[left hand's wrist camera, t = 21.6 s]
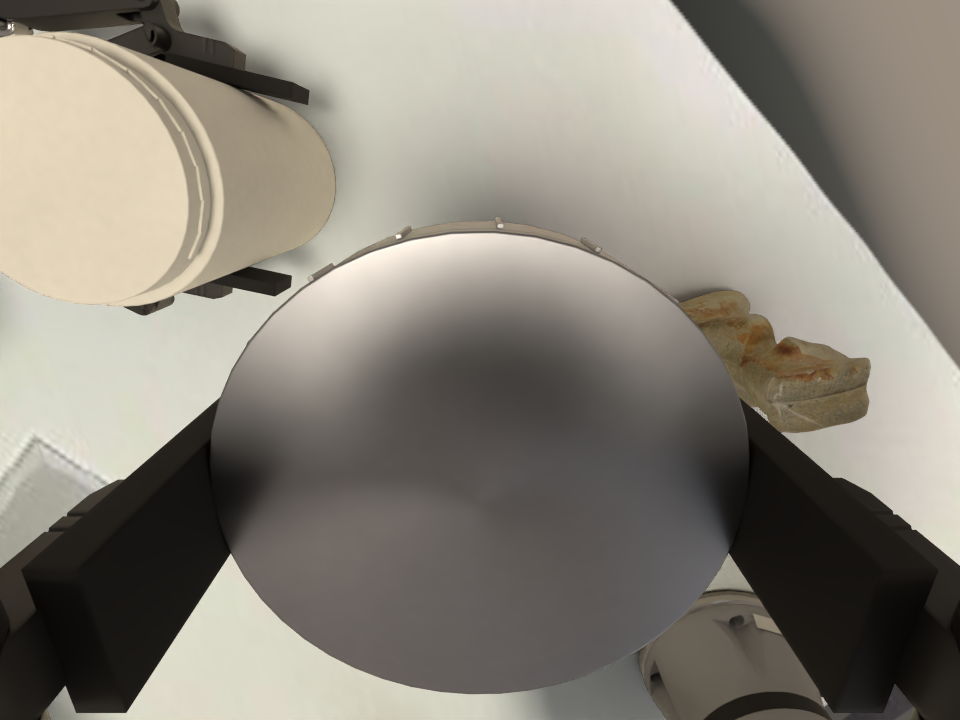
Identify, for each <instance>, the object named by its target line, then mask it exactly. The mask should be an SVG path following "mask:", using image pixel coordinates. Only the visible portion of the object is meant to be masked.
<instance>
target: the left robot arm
mask: <svg viewBox="0 0 960 720" xmlns="http://www.w3.org/2000/svg"><path fill="white" fill-rule="evenodd" d="M219 399H220V398H219ZM219 399H218V400H216V401H215V402H214V403H213V404H212V405H211V406H209V407H208V408H207V409H206V410H205V411H204V412H203V413H201V414H200V415H199V416H198V417H197V418H196V419H194V420H193V421H192V422H191V423H190V424H189V425H188V426H186V427H185V428H184V429H183V430H182V431H181V432H179V433H178V434H177V435H176V436H175V437H174V438H172V439H171V440H170V441H169V442H168V443H167V444H166V445H164V446H163V447H162V448H161V449H160V450H159V451H157V452H156V453H155V454H154V455H153V456H152V457H150V458H149V459H148V460H147V461H146V462H145V463H144V464H142V465H141V466H140V467H139V468H138V469H137V470H135V471H134V472H133V473H132V474H131V475H130V476H128V477H127V478H126V479H125V480H117V481H115V482H113V483H111V484H109V485H107V486H105V487H103V488H101V489H100V490H98V491H96V492H94V493H92V494H90V495H89V496H87V497H86V498H85V499H84V500H83V501H81V502H80V503H79V504H78V505H76V506H75V507H74V508H73V509H72V510H70V511H69V512H68V513H67V517H62V518H61V519H59V520H58V521H57V522H56V523H55V524H53V525H52V526H51V527H50V528H49V531H48V532H44V533H42V534H41V535H40V536H39V537H38V538H36V539H35V540H34V541H33V542H32V543H30V544H29V545H28V546H27V547H25V548H24V549H23V550H22V551H21V552H19V553H18V554H17V555H16V556H15V557H13V558H12V559H11V560H10V561H9V562H7V563H6V564H5V565H4V566H2V567H1V568H0V720H50V717H49V714H48V712H47V707H48V706H49V705H50V704H51V702H52V701H53V700H54V699H55V697H56V696H57V695H58V694H59V693H60V691H61V690H62V689H63V688H64V686H65V685H66V688H67V690H68V693H69V695H70V698H71V701H72V703H73V706H74V708H75V711H76V713H126V712H127V711H128V709H129V708H130V706H131V705H132V703H133V702H134V700H135V699H136V697H137V696H138V694H139V693H140V691H141V689H142V688H143V686H144V685H145V683H146V682H147V680H148V679H149V677H150V676H151V674H152V673H153V671H154V670H155V668H156V667H157V665H158V664H159V662H160V660H161V659H162V657H163V656H164V654H165V653H166V651H167V650H168V648H169V647H170V645H171V644H172V642H173V641H174V639H175V638H176V636H177V634H178V633H179V631H180V630H181V628H182V627H183V625H184V624H185V622H186V621H187V619H188V618H189V616H190V615H191V613H192V612H193V610H194V609H195V607H196V605H197V604H198V602H199V601H200V599H201V598H202V596H203V595H204V593H205V592H206V590H207V589H208V587H209V586H210V584H211V583H212V581H213V580H214V578H215V576H216V575H217V573H218V572H219V570H220V569H221V567H222V566H223V564H224V563H225V561H226V560H227V558H228V557H229V555H230V554H231V552H230V551H229V548H228V546H227V543H226V541H225V538H224V536H223V533H222V530H221V528H220V525H219V523H218V518H217V513H216V509H215V504H214V500H213V495H212V490H211V479H210V467H209V460H210V447H211V433H212V428H213V424H214V420H215V415H216V411H217V407H218V403H219ZM739 399H740V402H741V406H742V409H743V413H744V416H745V420H746V425H747V433H748V441H749V449H750V472H749V487H748V492H747V497H746V502H745V507H744V512H743V516H742V520H741V523H740V526H739V529H738V532H737V535H736V537H735V540H734V543H733V545H732V547H731V549H730V551H729V554H730V556H731V557H732V559H733V560H734V562H735V563H736V565H737V566H738V568H739V569H740V571H741V572H742V574H743V575H744V577H745V578H746V580H747V582H748V583H749V585H750V586H751V588H752V589H753V591H754V592H755V594H756V595H754V594H751V593H745V592H736V591H723V592H714V593H708V594H703V595H701V596H700V597H699V598H698V600H697V601H696V602H695V603H694V604H693V605H692V606H691V607H690V608H689V610H688V611H687V612H686V613H685V614H684V615H683V616H682V617H681V618H679V619H678V620H677V621H676V622H675V623H674V624H673V625H672V626H670V627H669V628H668V629H667V630H666V631H665V632H664V633H662V634H661V635H660V636H658V637H657V638H655V639H654V640H652V641H651V642H650V643H648V644H647V645H645V646H644V647H642V648H641V649H640V651H639V665H640V669H641V673H642V676H643V679H644V682H645V685H646V688H647V690H648V692H649V693H650V695H651V697H652V699H653V701H654V702H655V703H656V705H657V706H658V708H659V709H660V710H661V712H662V713H663V715H664V716H665V717H666V719H667V720H832V719H831V718H830V716H829V714H828V713H827V711H826V710H825V708H824V706H823V703H822V700H821V697H823V698H824V699H825V701H826V702H827V704H828V705H829V707H830V708H831V710H832V711H833V713H883V712H884V710H885V707H886V704H887V702H888V699H889V697H890V694H891V692H892V689H893V686H894V684H896V685H897V686H898V688H899V689H900V690H901V691H902V692H903V694H904V695H905V696H906V697H907V699H908V700H909V701H910V702H911V704H912V705H913V706H914V709H913V712H912V714H911V717H910V719H909V720H960V566H959V565H958V564H957V563H956V562H955V561H953V560H952V559H951V558H950V557H948V556H947V555H946V554H945V553H944V552H942V551H941V550H940V549H939V548H937V547H936V546H935V545H934V544H933V543H931V542H930V541H929V540H928V539H926V538H925V537H924V536H923V535H922V534H920V533H919V532H918V531H917V530H912V529H911V525H909V524H908V523H907V522H906V521H904V520H903V519H902V518H901V517H900V516H898V515H894V514H893V511H892V510H891V509H890V508H889V507H887V506H886V505H885V504H884V503H882V502H881V501H880V500H879V499H878V498H876V497H875V496H874V495H873V494H871V493H870V492H868V491H866V490H864V489H862V488H860V487H858V486H857V485H855V484H853V483H851V482H849V481H847V480H845V479H843V478H832V477H831V476H830V475H829V474H828V473H827V472H825V471H824V470H823V469H822V468H821V467H820V466H818V465H817V464H816V463H815V462H814V461H813V460H811V459H810V458H809V457H808V456H807V455H806V454H805V453H803V452H802V451H801V450H800V449H799V448H798V447H796V446H795V445H794V444H793V443H792V442H791V441H789V440H788V439H787V438H786V437H785V436H784V435H783V434H781V433H780V432H779V431H778V430H777V429H776V428H774V427H773V426H772V425H771V424H770V423H769V422H768V421H766V420H765V419H764V418H763V417H762V416H761V415H759V414H758V413H757V412H756V411H755V410H754V409H752V408H751V407H750V406H749V405H748V404H747V403H746V402H744V401H743V400H742V399H741V398H740V397H739Z"/></svg>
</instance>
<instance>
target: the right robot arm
mask: <svg viewBox="0 0 960 720" xmlns="http://www.w3.org/2000/svg"><path fill="white" fill-rule="evenodd" d="M179 12H180V11H179V5H178V3H177V1H176V0H0V38H1V37H5V36H10V35H13V34H17V35H33V29H36V30H40V31H48V32H57V31H69V30H80V29H90V28H101V27H112V26H123V25H134V24H143V25H144V26H142V27H139V28H137V29H134V30H132V31H130V32H127V33H125V34H122V35H120V36H117V37H115V38H113V39H110V40H108V41H109V42H111V43H114V44H117V45H120V46H122V47H125V48H128V49H131V50H133V51H136V52H139V53H142V54H145V55H147V56H150V57H153V58H156V59H158V60H161V61H164V62H167V63H169V64H172V65H175V66H178V67H181V68H183V69H186V70H189V71H192V72H194V73H197V74H200V75H203V76H205V77H208V78H211V79H214V80H216V81H219V82H222V83H225V84H228V85H230V86H233V87H236V88H239V89H243V90H247V91H251V92H256V93H260V94H264V95H268V96H273V97H277V98H281V99H285V100H289V101H294V102H298V103H302V104H306V105H308V99H309V90H307V89H305V88H303V87H301V86H299V85H297V84H295V83H293V82H289V81H285V80H280V79H276V78H272V77H268V76H264V75H260V74H255V73H251V72H247V71H245V60H246V55H245V54H244V53H242V52H241V51H239V50H238V49H237V48H235V47H233V46H231V45H229V44H227V43H225V42H221V41H217V40H213V39H209V38H205V37H201V36H197V35H193V34H188V33H185V32H184V31H183V30H182V28H181V26H180V23H179V20H178V16H179ZM291 279H292V276H291V275H286V274H281V273H277V272H272V271H267V270H263V269H258V268H253V267H249V266H248V267H246V268H243V269H241V270H238V271H235V272H233V273H230V274H228V275H225V276H223V277H220V278H217V279H215V280H212V281H210V282H207V283H205V284H202V285H200V286H197V287H194V288H192V289H189V290H187V291H184V292H183V293H188V294H192V295H198V296H202V297H207V298H212V299H215V298H221V297H224V296H226V295H228V294H230V293H232V289H233V288H238V289H242V290H247V291H252V292H257V293H261V294H266V295H271V296H276V295H278V294H280V293H281V292H283V291H285V290H287V289H288V288H290V287H291ZM173 302H174V296H171V297H169V298H166V299H163V300H160V301H157V302H154V303H150V304H145V305H139V306H123V307H125V308H127V309H129V310H131V311H133V312H135V313H137V314H140V315H148V314H151V313H153V312H155V311H158V310H160V309H163V308H165V307H167V306H170V305H171V304H173Z"/></svg>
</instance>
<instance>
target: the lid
mask: <svg viewBox="0 0 960 720" xmlns="http://www.w3.org/2000/svg"><path fill="white" fill-rule="evenodd" d="M601 250H602V249H601V248H600V247H598V246H597V245H595V244H593V243H592V242H590V241H588V240H587V239H585V238H582V239H581V242H580V241H577V240H575V239H573V238H570V237H568V236H565V235H563V234H560V233H556V232H552V231H548V230H545V229H541V228H537V227H533V226H529V225H523V224H514V223H505V222H502V220H501V218H500V217H495V221H468V222H452V223H445V224H439V225H433V226H426V227H421V228H418V229H414V230H412V229H411V226H408V227H405V228H404V229H403V230H401V231H400V232H399V233H397V234H396V235H394V236H391V237H388V238H386V239H384V240H382V241H379V242H377V243H375V244H373V245H371V246H369V247H366V248H364V249H362V250H360V251H358V252H356V253H355V254H353V255H352V256H350V257H348V258H347V259H345V260H344V261H342V262H341V263H339V264H338V265H336V266H334V265H333V264H332V263H331V264H329V265H328V266H326V267H324V268H323V269H321V270H319V271H318V272H316V273H314V274H313V275H311V276H310V277H308V278H307V279H308V280H309V282H310V283H308V284H307V285H305V286H303V287H302V288H301V289H299V290H298V291H297V292H296V293H295V294H294V295H293V296H291V297H290V298H289V299H288V300H287V301H286V302H285V303H283V304H282V305H281V306H280V307H279V308H278V309H277V310H275V311H274V312H273V313H272V314H271V316H270V317H269V318H268V319H267V320H266V321H265V323H264V324H263V325H262V326H261V327H260V329H259V330H258V331H257V332H256V333H255V334H254V336H253V337H252V338H251V339H250V340H249V341H248V343H247V345H246V347H245V349H244V350H243V352H242V354H241V355H240V357H239V359H238V360H237V362H236V363H235V365H234V367H233V368H232V370H231V373H230V375H229V377H228V380H227V382H226V385H225V387H224V390H223V392H222V394H221V397H220V399H219V403H218V407H217V411H216V415H215V420H214V424H213V428H212V433H211V447H210V460H209V467H210V479H211V490H212V495H213V500H214V504H215V509H216V513H217V518H218V523H219V525H220V528H221V530H222V533H223V536H224V538H225V541H226V543H227V546H228V548H229V551H230V552H231V554H232V556H233V558H234V560H235V561H236V563H237V565H238V567H239V568H240V570H241V572H242V574H243V575H244V577H245V578H246V580H247V581H248V582H249V584H250V585H251V586H252V588H253V589H254V590H255V592H256V593H257V594H258V596H259V597H260V598H261V600H262V601H263V602H264V603H265V604H266V605H267V606H268V607H269V608H270V609H271V610H272V611H273V612H274V613H275V614H276V615H277V616H278V617H279V618H280V619H281V620H282V621H283V622H284V623H285V624H287V625H288V626H289V627H290V628H292V629H293V630H294V631H295V632H296V633H298V634H299V635H300V636H301V637H303V638H304V639H305V640H307V641H308V642H310V643H311V644H313V645H314V646H316V647H317V648H319V649H321V650H322V651H324V652H325V653H327V654H328V655H330V656H332V657H334V658H336V659H338V660H340V661H342V662H344V663H346V664H348V665H350V666H352V667H354V668H356V669H358V670H361V671H364V672H366V673H369V674H371V675H374V676H377V677H379V678H382V679H385V680H389V681H392V682H396V683H400V684H403V685H407V686H411V687H416V688H422V689H427V690H433V691H439V692H450V693H462V694H501V693H510V692H519V691H528V690H533V689H538V688H543V687H548V686H553V685H557V684H561V683H564V682H567V681H570V680H574V679H577V678H580V677H583V676H586V675H589V674H591V673H593V672H596V671H598V670H601V669H603V668H605V667H608V666H610V665H612V664H614V663H616V662H618V661H620V660H622V659H623V658H625V657H627V656H629V655H631V654H632V653H634V652H636V651H638V650H639V649H641V648H642V647H644V646H645V645H647V644H648V643H650V642H651V641H652V640H654V639H655V638H657V637H658V636H660V635H661V634H662V633H664V632H665V631H666V630H667V629H668V628H669V627H670V626H672V625H673V624H674V623H675V622H676V621H677V620H678V619H679V618H681V617H682V616H683V615H684V614H685V613H686V612H687V611H688V610H689V608H690V607H691V606H692V605H693V604H694V603H695V602H696V601H697V600H698V598H699V597H700V596H701V595H702V594H703V593H704V591H705V590H706V589H707V587H708V586H709V584H710V583H711V581H712V580H713V578H714V577H715V576H716V574H717V573H718V571H719V570H720V568H721V566H722V564H723V562H724V561H725V559H726V557H727V555H728V553H729V551H730V549H731V547H732V545H733V543H734V540H735V537H736V535H737V532H738V529H739V526H740V523H741V520H742V516H743V512H744V507H745V502H746V497H747V492H748V487H749V472H750V449H749V441H748V433H747V425H746V420H745V416H744V413H743V409H742V406H741V402H740V399H739V395H738V392H737V389H736V387H735V385H734V383H733V381H732V379H731V377H730V375H729V372H728V370H727V368H726V366H725V364H724V362H723V360H722V358H721V357H720V355H719V354H718V352H717V351H716V350H715V348H714V347H713V345H712V344H711V342H710V341H709V339H708V338H707V336H706V335H705V333H704V332H703V331H702V330H701V328H700V327H699V326H698V325H697V324H696V323H695V322H694V321H693V320H692V319H691V318H690V317H689V316H688V314H687V313H686V312H685V311H684V310H683V309H682V308H681V307H680V306H679V305H678V304H679V303H680V302H679V301H678V300H677V299H676V298H674V297H673V296H671V295H669V294H668V293H666V292H665V291H663V290H662V289H660V288H659V287H657V286H655V285H654V284H652V283H651V282H649V281H648V280H646V279H645V278H643V277H642V276H640V275H639V274H637V273H635V272H634V271H632V270H631V269H629V268H628V267H626V266H624V265H623V264H621V263H620V262H618V261H616V260H615V259H613V258H611V257H609V256H608V255H606V254H604V253H602V252H601Z"/></svg>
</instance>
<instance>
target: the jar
mask: <svg viewBox="0 0 960 720" xmlns="http://www.w3.org/2000/svg"><path fill="white" fill-rule="evenodd" d="M335 190H336V186H335V173H334V168H333V164H332V160H331V157H330V155H329V152H328V150H327V148H326V146H325V144H324V142H323V140H322V139H321V137H320V136H319V135H318V133H317V132H316V130H315V129H314V128H313V127H312V126H311V125H310V124H309V123H308V122H307V121H306V120H305V119H304V118H303V117H302V116H301V115H299V114H298V113H296V112H295V111H293V110H292V109H290V108H288V107H286V106H284V105H283V104H280V103H277V102H275V101H272V100H269V99H266V98H264V97H261V96H258V95H255V94H252V93H250V92H247V91H244V90H241V89H239V88H236V87H233V86H230V85H228V84H225V83H222V82H219V81H216V80H214V79H211V78H208V77H205V76H203V75H200V74H197V73H194V72H192V71H189V70H186V69H183V68H181V67H178V66H175V65H172V64H169V63H167V62H164V61H161V60H158V59H156V58H153V57H150V56H147V55H145V54H142V53H139V52H136V51H133V50H131V49H128V48H125V47H122V46H120V45H117V44H114V43H111V42H109V41H106V40H103V39H100V38H97V37H93V36H89V35H84V34H80V33H71V32H46V33H39V34H34V35H17V34H13V35H10V36H5V37H1V38H0V271H1V272H2V273H4V274H5V275H7V276H8V277H10V278H11V279H12V280H14V281H16V282H18V283H19V284H21V285H23V286H25V287H27V288H28V289H31V290H33V291H35V292H38V293H40V294H42V295H45V296H48V297H51V298H54V299H57V300H61V301H66V302H71V303H76V304H89V305H95V304H104V305H111V306H139V305H145V304H150V303H154V302H157V301H160V300H163V299H166V298H169V297H171V296H174V295H176V294H179V293H182V292H184V291H187V290H189V289H192V288H194V287H197V286H200V285H202V284H205V283H207V282H210V281H212V280H215V279H217V278H220V277H223V276H225V275H228V274H230V273H233V272H235V271H238V270H241V269H243V268H246V267H248V266H251V265H253V264H256V263H259V262H261V261H264V260H266V259H269V258H271V257H274V256H276V255H279V254H282V253H284V252H287V251H289V250H292V249H294V248H297V247H299V246H301V245H303V244H305V243H307V242H308V241H309V240H311V239H312V238H313V237H314V236H315V235H316V234H317V233H318V232H319V231H320V230H321V229H322V227H323V226H324V225H325V223H326V221H327V219H328V218H329V215H330V213H331V210H332V207H333V203H334V199H335Z"/></svg>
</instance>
